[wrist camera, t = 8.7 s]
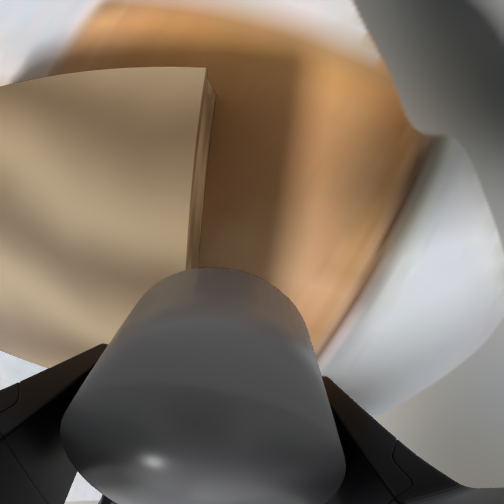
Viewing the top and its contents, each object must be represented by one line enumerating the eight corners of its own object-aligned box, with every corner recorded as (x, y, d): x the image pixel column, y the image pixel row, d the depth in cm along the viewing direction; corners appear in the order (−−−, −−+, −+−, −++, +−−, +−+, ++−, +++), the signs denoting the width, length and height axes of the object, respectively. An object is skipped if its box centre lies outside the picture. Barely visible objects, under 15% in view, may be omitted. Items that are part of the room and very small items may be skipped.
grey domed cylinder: (308, 410, 11) (331, 524, 6) (153, 415, 11) (121, 520, 6) (308, 258, 9) (364, 367, 4) (108, 274, 9) (13, 370, 4)
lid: (184, 393, 16) (182, 400, 16) (-37, 328, 16) (-41, 332, 15) (207, 71, 11) (205, 67, 11) (-55, 105, 11) (-61, 105, 10)
